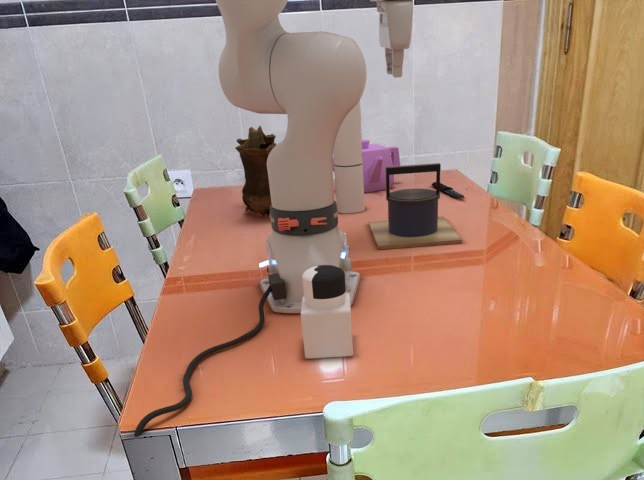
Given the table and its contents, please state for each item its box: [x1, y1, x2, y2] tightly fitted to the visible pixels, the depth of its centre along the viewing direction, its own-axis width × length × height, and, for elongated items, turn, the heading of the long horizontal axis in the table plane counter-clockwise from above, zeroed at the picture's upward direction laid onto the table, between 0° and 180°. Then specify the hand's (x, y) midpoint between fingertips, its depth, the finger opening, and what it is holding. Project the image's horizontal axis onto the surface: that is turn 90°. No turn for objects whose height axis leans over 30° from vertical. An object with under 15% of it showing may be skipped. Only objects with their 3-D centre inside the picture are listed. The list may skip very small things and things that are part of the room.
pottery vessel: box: [234, 125, 277, 217], centre depth 163 cm, size 25×11×20 cm, turn 7°
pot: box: [385, 162, 442, 237], centre depth 142 cm, size 12×12×13 cm
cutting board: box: [368, 215, 463, 250], centre depth 146 cm, size 20×18×1 cm
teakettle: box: [333, 139, 401, 194], centre depth 183 cm, size 17×17×12 cm
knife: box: [431, 181, 466, 199], centre depth 175 cm, size 21×1×3 cm
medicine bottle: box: [300, 265, 354, 360], centre depth 94 cm, size 7×7×12 cm
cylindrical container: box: [333, 99, 366, 214], centre depth 159 cm, size 7×7×25 cm
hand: (394, 75), depth 129 cm, fingers open, 8 cm apart
